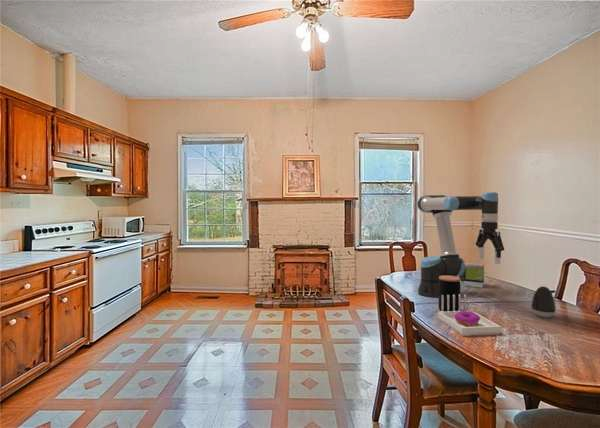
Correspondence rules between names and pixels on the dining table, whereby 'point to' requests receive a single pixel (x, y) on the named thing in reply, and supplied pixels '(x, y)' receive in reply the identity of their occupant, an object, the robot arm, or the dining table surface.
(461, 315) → the donut
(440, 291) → the coffee jar
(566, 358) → the dining table surface
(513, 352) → the dining table surface
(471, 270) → the tea box
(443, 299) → the rack tines
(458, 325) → the tray
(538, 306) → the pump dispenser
